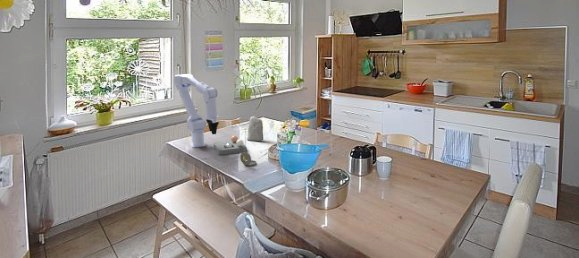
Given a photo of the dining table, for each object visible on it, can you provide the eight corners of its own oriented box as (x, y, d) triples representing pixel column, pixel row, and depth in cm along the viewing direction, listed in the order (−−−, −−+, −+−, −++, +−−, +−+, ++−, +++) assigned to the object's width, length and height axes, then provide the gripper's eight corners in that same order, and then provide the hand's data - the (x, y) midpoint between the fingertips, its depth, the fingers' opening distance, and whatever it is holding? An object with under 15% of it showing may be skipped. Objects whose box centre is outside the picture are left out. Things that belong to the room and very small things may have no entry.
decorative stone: (265, 140, 236) (264, 117, 232) (259, 142, 231) (258, 118, 228) (251, 137, 242) (250, 115, 238) (245, 140, 237) (244, 117, 233)
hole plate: (213, 146, 224) (213, 142, 223) (239, 143, 230) (239, 139, 229) (218, 154, 209) (218, 150, 208) (246, 151, 214) (246, 147, 214)
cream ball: (235, 145, 217) (235, 139, 216) (242, 144, 218) (242, 138, 217) (237, 147, 213) (237, 140, 212) (244, 146, 215) (243, 139, 214)
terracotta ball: (230, 141, 225) (230, 135, 224) (237, 140, 226) (236, 134, 225) (232, 143, 221) (231, 136, 220) (238, 142, 223) (238, 136, 222)
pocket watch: (256, 161, 196) (256, 143, 194) (256, 167, 188) (255, 148, 186) (241, 162, 196) (240, 144, 194) (239, 167, 188) (238, 148, 185)
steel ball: (225, 150, 218) (224, 143, 218) (232, 150, 219) (231, 143, 219) (225, 150, 214) (225, 143, 214) (232, 150, 215) (232, 143, 215)
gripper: (220, 110, 207) (222, 134, 210) (215, 106, 220) (217, 129, 223) (207, 112, 204) (209, 136, 207) (203, 107, 217) (205, 130, 221)
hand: (212, 132), depth 215 cm, fingers open, 7 cm apart
